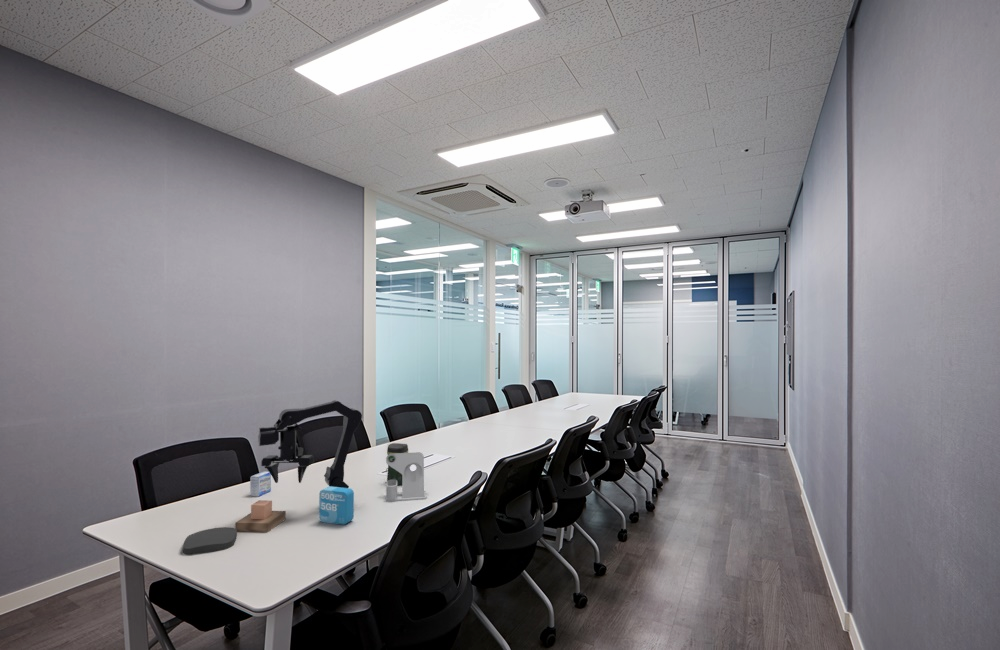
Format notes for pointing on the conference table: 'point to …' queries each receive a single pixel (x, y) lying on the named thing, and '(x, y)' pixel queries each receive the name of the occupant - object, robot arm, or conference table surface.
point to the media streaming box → (210, 540)
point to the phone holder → (407, 477)
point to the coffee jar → (394, 449)
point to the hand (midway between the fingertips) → (288, 482)
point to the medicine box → (260, 484)
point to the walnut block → (260, 522)
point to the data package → (336, 505)
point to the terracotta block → (261, 509)
